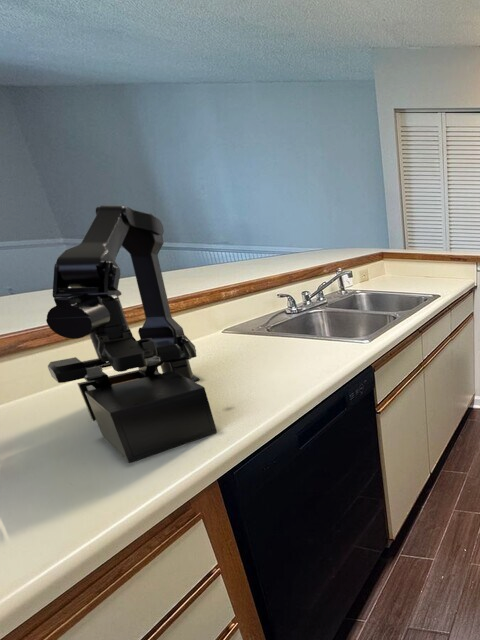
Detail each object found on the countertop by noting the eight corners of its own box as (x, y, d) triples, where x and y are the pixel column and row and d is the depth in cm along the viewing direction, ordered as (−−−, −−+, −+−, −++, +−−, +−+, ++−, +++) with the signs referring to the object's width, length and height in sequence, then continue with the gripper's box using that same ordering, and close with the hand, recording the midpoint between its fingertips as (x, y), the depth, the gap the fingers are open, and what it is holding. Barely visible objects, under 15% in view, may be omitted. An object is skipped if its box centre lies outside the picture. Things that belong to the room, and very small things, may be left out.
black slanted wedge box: (103, 437, 80) (84, 391, 76) (186, 412, 90) (173, 370, 86) (129, 463, 72) (109, 413, 68) (217, 432, 82) (204, 387, 79)
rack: (90, 417, 85) (75, 381, 82) (163, 397, 95) (153, 364, 92) (113, 439, 77) (97, 400, 74) (190, 415, 87) (180, 380, 84)
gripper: (46, 343, 68) (82, 429, 74) (182, 321, 82) (203, 394, 88) (32, 331, 74) (66, 412, 80) (161, 313, 88) (182, 382, 94)
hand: (134, 399), depth 85 cm, fingers closed on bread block, 4 cm apart
